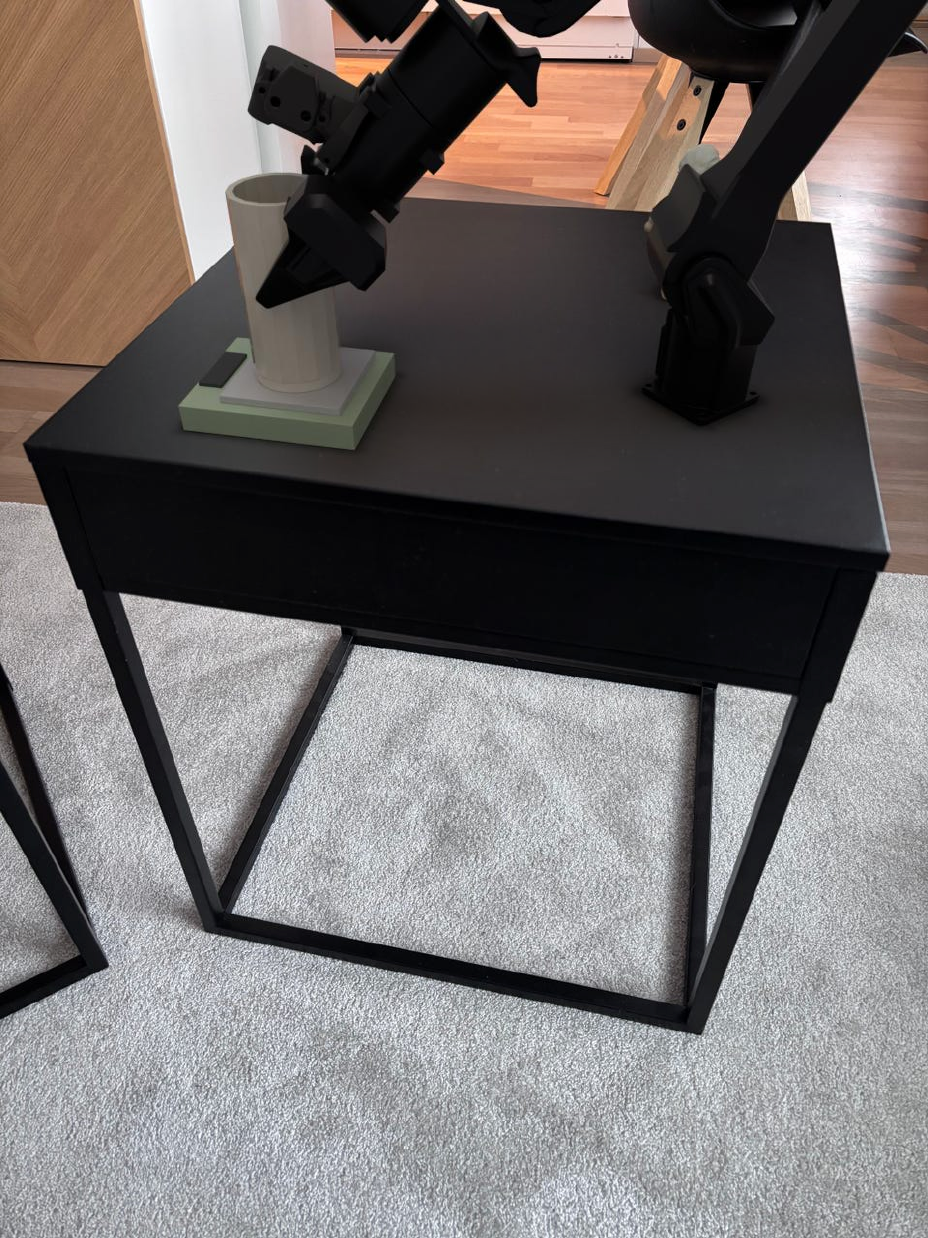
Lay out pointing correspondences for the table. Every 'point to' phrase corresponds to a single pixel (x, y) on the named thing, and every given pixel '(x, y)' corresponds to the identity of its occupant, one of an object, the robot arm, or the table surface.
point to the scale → (289, 401)
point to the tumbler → (294, 331)
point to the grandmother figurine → (699, 161)
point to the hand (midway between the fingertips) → (267, 282)
